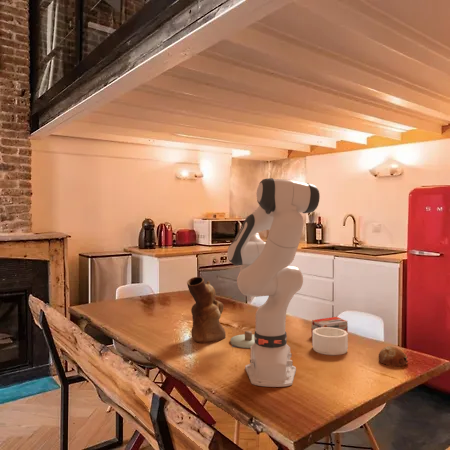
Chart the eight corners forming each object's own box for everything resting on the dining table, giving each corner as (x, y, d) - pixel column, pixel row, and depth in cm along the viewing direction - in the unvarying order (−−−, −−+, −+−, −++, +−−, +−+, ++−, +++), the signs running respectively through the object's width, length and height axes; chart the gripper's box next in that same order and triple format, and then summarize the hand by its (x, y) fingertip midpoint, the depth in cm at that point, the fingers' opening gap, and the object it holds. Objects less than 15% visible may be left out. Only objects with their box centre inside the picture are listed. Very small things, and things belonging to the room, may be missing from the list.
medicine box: (321, 341, 185) (321, 324, 185) (311, 336, 193) (311, 320, 192) (348, 337, 191) (348, 320, 191) (336, 332, 199) (336, 316, 199)
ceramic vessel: (232, 337, 191) (231, 274, 190) (204, 350, 173) (203, 280, 172) (205, 332, 200) (205, 271, 199) (176, 344, 182) (175, 277, 181)
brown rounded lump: (388, 365, 166) (380, 346, 168) (412, 360, 160) (403, 340, 162) (380, 373, 158) (371, 352, 160) (405, 367, 152) (396, 346, 154)
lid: (266, 348, 175) (266, 337, 174) (229, 347, 176) (229, 337, 176) (265, 337, 190) (265, 327, 190) (231, 336, 192) (231, 326, 192)
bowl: (350, 355, 167) (350, 337, 166) (315, 354, 168) (315, 336, 168) (343, 344, 181) (343, 327, 181) (310, 343, 182) (310, 327, 182)
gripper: (255, 272, 171) (255, 304, 172) (259, 264, 191) (258, 293, 192) (240, 271, 172) (240, 304, 173) (245, 264, 192) (245, 293, 193)
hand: (250, 298), depth 183 cm, fingers open, 8 cm apart
